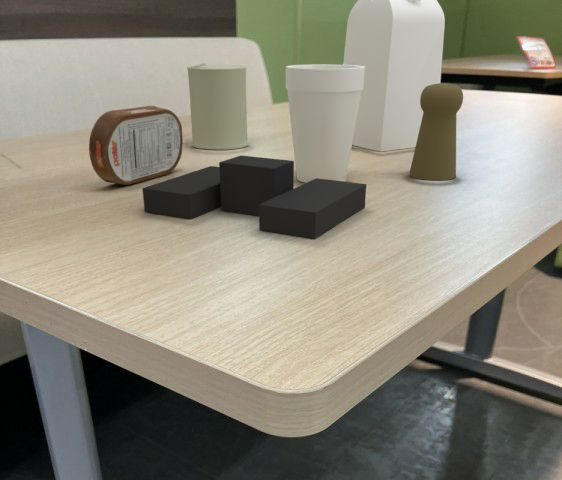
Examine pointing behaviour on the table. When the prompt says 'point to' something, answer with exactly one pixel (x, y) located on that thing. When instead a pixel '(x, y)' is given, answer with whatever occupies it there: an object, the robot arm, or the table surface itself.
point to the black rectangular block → (253, 182)
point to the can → (218, 106)
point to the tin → (135, 144)
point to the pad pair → (272, 214)
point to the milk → (393, 67)
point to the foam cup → (323, 117)
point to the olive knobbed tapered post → (437, 133)
